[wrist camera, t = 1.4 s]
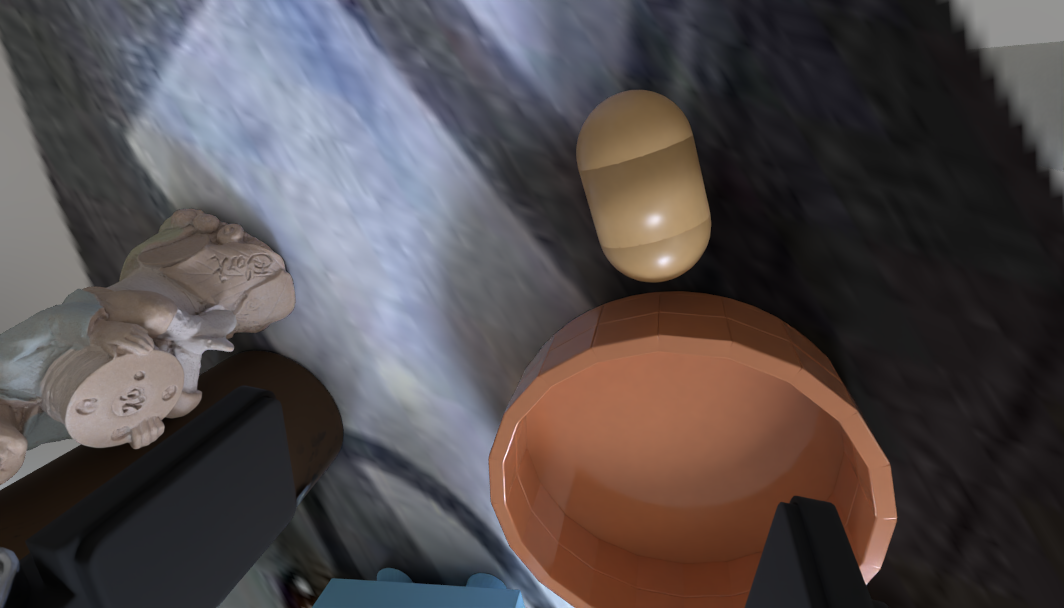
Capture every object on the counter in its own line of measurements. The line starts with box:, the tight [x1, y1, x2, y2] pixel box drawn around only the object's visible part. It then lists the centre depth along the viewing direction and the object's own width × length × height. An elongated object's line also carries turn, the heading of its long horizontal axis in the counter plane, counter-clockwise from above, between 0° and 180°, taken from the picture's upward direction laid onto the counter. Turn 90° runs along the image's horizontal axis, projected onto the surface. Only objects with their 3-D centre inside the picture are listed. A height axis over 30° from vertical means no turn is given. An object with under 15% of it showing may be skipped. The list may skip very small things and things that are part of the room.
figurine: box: [0, 209, 295, 485], centre depth 22 cm, size 9×8×20 cm
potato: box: [576, 90, 711, 282], centre depth 22 cm, size 8×5×5 cm, turn 19°
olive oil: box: [0, 351, 343, 608], centre depth 24 cm, size 11×11×25 cm
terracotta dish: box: [488, 291, 897, 608], centre depth 27 cm, size 18×18×5 cm
